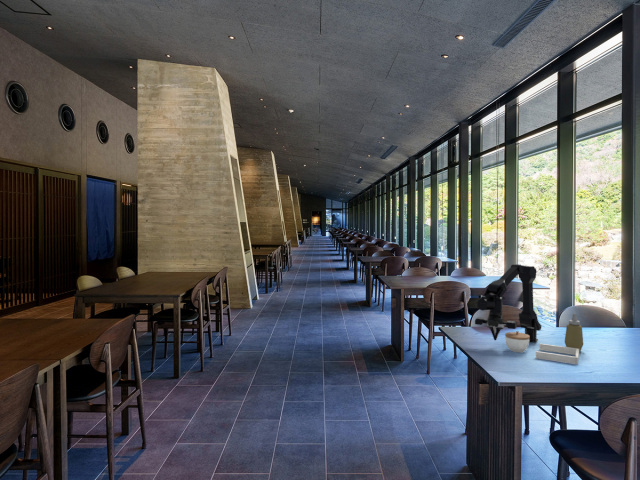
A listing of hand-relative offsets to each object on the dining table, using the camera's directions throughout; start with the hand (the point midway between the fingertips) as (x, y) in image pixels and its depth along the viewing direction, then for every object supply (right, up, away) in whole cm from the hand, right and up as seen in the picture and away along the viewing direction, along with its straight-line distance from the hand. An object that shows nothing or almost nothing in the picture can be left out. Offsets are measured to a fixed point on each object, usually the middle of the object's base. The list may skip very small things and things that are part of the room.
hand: (495, 340), depth 214 cm
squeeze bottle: (+37, -4, -3) cm, 37 cm away
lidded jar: (+8, -4, -5) cm, 11 cm away
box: (+23, -4, -14) cm, 27 cm away
